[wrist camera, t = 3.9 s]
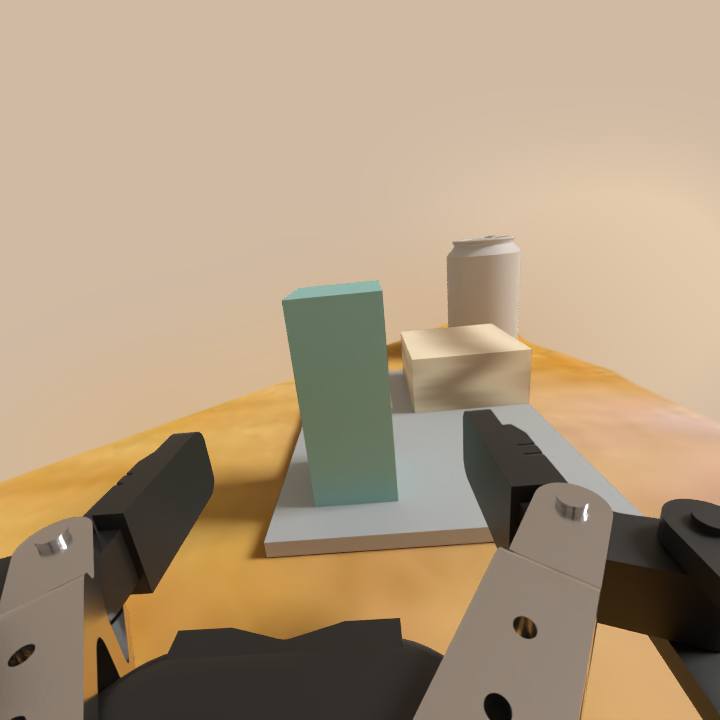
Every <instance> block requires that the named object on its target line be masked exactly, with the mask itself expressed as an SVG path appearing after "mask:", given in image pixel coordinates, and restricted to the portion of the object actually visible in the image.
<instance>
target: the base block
mask: <svg viewBox="0 0 720 720" xmlns="http://www.w3.org/2000/svg"><path fill="white" fill-rule="evenodd" d="M401 346H402V362H403V375H404V378H405V382H406V385H407V388H408V391H409V395H410V398H411V401H412V405H413V408H414V411H415V413H422V412H434V411H446V410H458V409H470V408H482V407H494V406H506V405H518V404H529V394H530V374H531V355H532V349H531V348H529V347H528V346H526V345H524V344H523V343H521V342H520V341H518V340H517V339H515V338H514V337H512V336H510V335H509V334H507V333H506V332H504V331H503V330H501V329H499V328H498V327H496V326H495V325H493V324H481V325H470V326H460V327H449V328H438V329H427V330H416V331H405V332H401Z"/></svg>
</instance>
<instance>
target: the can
mask: <svg viewBox="0 0 720 720" xmlns="http://www.w3.org/2000/svg"><path fill="white" fill-rule="evenodd" d="M514 238H515V236H501V237H495V236H487V237H484V238H479V239H469V240H460V241H454V242H453V244H454V248H453V250H452V251H451V252H450V253H449V255H448V256H447V282H448V283H447V288H448V328H449V327H460V326H470V325H481V324H493V325H495V326H496V327H498V328H499V329H501V330H503V331H504V332H506V333H507V334H509V335H510V336H512V337H514V338H515V339H517V340H518V316H519V290H520V265H521V250H520V249H519V248H518V247H517V246H516V245H515V244H514V243H513V239H514Z"/></svg>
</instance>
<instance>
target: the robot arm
mask: <svg viewBox="0 0 720 720" xmlns="http://www.w3.org/2000/svg"><path fill="white" fill-rule="evenodd" d="M463 461H464V468H465V473H466V476H467V479H468V481H469V484H470V486H471V488H472V491H473V493H474V495H475V498H476V500H477V502H478V505H479V507H480V509H481V512H482V514H483V516H484V519H485V521H486V523H487V526H488V528H489V530H490V533H491V535H492V537H493V540H494V542H495V544H496V546H497V551H496V552H495V554H494V556H493V558H492V560H491V562H490V564H489V566H488V568H487V570H486V572H485V574H484V576H483V578H482V580H481V583H480V585H479V587H478V589H477V591H476V593H475V595H474V597H473V599H472V601H471V603H470V605H469V607H468V609H467V611H466V613H465V615H464V617H463V619H462V621H461V623H460V625H459V627H458V629H457V631H456V633H455V635H454V637H453V639H452V641H451V643H450V645H449V647H448V649H447V651H446V653H445V655H444V656H443V655H442V654H440V653H438V652H436V651H435V650H433V649H431V648H429V647H427V646H424V645H422V644H419V643H416V642H414V641H410V640H406V639H402V634H401V623H400V618H394V619H376V620H359V621H344V622H341V623H338V624H335V625H332V626H328V627H325V628H322V629H319V630H316V631H313V632H310V633H307V634H304V635H300V636H297V637H294V638H291V639H286V640H282V639H276V638H272V637H268V636H264V635H260V634H256V633H252V632H247V631H243V630H239V629H235V628H219V629H201V630H184V631H178V633H177V635H176V637H175V640H174V642H173V644H172V646H171V648H170V650H169V652H168V654H165V655H163V656H160V657H158V658H156V659H153V660H151V661H149V662H147V663H145V664H143V665H141V666H139V667H137V668H135V661H134V653H133V645H132V637H131V629H130V622H129V614H128V610H127V608H126V605H125V602H126V600H127V599H128V597H129V596H130V595H131V594H148V593H153V592H154V590H155V588H156V587H157V585H158V583H159V582H160V580H161V578H162V577H163V575H164V573H165V572H166V570H167V568H168V567H169V565H170V563H171V562H172V560H173V558H174V557H175V555H176V553H177V552H178V550H179V549H180V547H181V545H182V544H183V542H184V540H185V539H186V537H187V535H188V534H189V532H190V530H191V529H192V527H193V525H194V524H195V522H196V520H197V519H198V517H199V515H200V514H201V512H202V510H203V509H204V507H205V505H206V504H207V502H208V500H209V499H210V497H211V495H212V492H213V488H214V475H213V471H212V467H211V463H210V460H209V456H208V452H207V448H206V444H205V440H204V437H203V436H202V434H201V433H200V432H191V433H179V434H173V435H171V436H170V437H169V438H168V439H167V440H166V441H165V442H164V443H163V444H162V445H161V446H160V447H159V448H158V449H157V450H156V451H155V452H154V453H152V454H150V455H149V456H147V457H145V458H144V459H142V460H141V461H139V462H138V463H137V464H136V465H135V466H134V467H133V468H132V469H131V470H130V471H129V472H128V473H127V476H124V477H123V478H121V479H120V480H119V481H118V482H117V485H116V486H113V487H112V488H111V489H110V490H109V491H108V492H107V493H106V494H105V495H104V496H103V497H102V498H101V499H100V500H99V501H98V502H97V503H96V504H95V505H94V506H93V507H92V508H91V509H90V510H89V511H88V512H87V513H86V514H85V515H84V516H83V517H72V518H68V519H64V520H61V521H58V522H56V523H53V524H51V525H49V526H47V527H45V528H43V529H41V530H39V531H38V532H36V533H35V534H33V535H32V536H30V537H29V538H27V539H26V540H25V541H24V542H23V543H22V544H20V545H19V547H18V548H17V549H16V550H15V552H14V553H13V555H12V556H9V557H6V558H2V559H0V720H582V715H583V709H584V703H585V697H586V691H587V684H588V678H589V672H590V666H591V660H592V654H593V647H594V641H595V635H596V629H597V623H601V624H605V625H609V626H613V627H617V628H621V629H625V630H629V631H633V632H637V633H641V634H645V635H648V636H649V638H650V639H651V641H652V642H653V644H654V645H655V647H656V649H657V650H658V652H659V653H660V655H661V656H662V658H663V659H664V661H665V662H666V664H667V665H668V667H669V668H670V670H671V671H672V673H673V675H674V676H675V678H676V679H677V681H678V682H679V684H680V685H681V687H682V688H683V690H684V691H685V693H686V694H687V696H688V697H689V699H690V701H691V702H692V704H693V705H694V707H695V708H696V710H697V711H698V713H699V714H700V716H701V717H702V719H703V720H720V506H718V505H715V504H712V503H708V502H704V501H699V500H692V499H675V500H671V501H669V502H667V503H665V504H664V505H663V507H662V510H661V515H660V519H657V518H650V517H643V516H637V515H630V514H624V513H618V512H614V511H612V509H611V507H610V505H609V504H608V503H607V502H606V501H605V500H604V499H603V498H602V497H601V496H599V495H598V494H596V493H595V492H593V491H591V490H589V489H586V488H584V487H581V486H578V485H574V484H569V483H568V482H567V481H566V480H565V478H564V477H563V476H562V475H561V474H560V472H559V471H558V470H557V469H556V468H555V466H554V465H553V464H552V463H551V462H550V461H549V459H548V458H547V457H546V456H545V455H544V454H542V451H541V450H540V449H539V447H538V446H537V445H535V443H534V441H533V440H532V439H531V438H530V437H529V436H528V434H527V433H526V432H524V431H522V430H521V429H519V428H517V427H515V426H514V425H512V424H505V425H502V424H501V422H500V421H499V420H498V418H497V417H496V416H495V414H494V413H493V412H492V410H491V409H484V410H472V411H464V414H463Z"/></svg>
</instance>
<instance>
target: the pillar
mask: <svg viewBox="0 0 720 720" xmlns="http://www.w3.org/2000/svg"><path fill="white" fill-rule="evenodd" d="M282 305H283V310H284V317H285V323H286V329H287V335H288V342H289V348H290V353H291V360H292V366H293V372H294V378H295V385H296V391H297V397H298V403H299V409H300V415H301V421H302V427H303V434H304V440H305V446H306V452H307V458H308V464H309V470H310V476H311V483H312V489H313V495H314V501H315V507H326V506H340V505H353V504H367V503H380V502H394V501H398V488H397V475H396V462H395V449H394V436H393V423H392V411H391V398H390V385H389V372H388V359H387V346H386V333H385V320H384V308H383V295H382V289H381V286H380V284H379V281H378V280H377V281H367V282H356V283H346V284H336V285H327V286H315V287H305V288H298V289H297V290H295V291H294V292H293V293H291V294H290V295H288V296H287V297H286V298H284V299H283V300H282Z"/></svg>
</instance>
